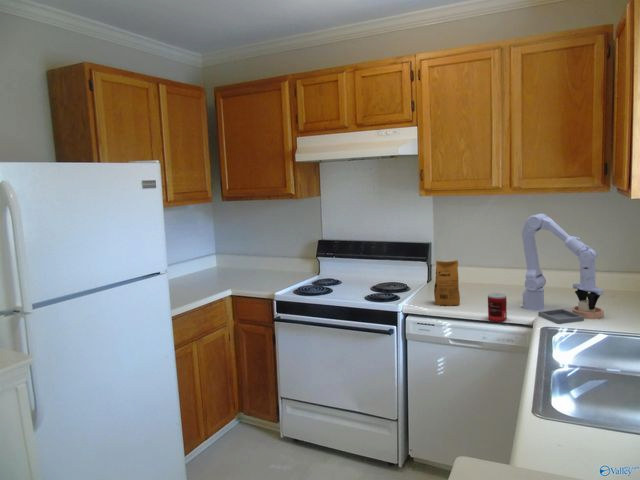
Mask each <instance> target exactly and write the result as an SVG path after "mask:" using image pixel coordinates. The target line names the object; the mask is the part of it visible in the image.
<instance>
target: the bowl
mask: <svg viewBox="0 0 640 480" xmlns="http://www.w3.org/2000/svg"><path fill="white" fill-rule="evenodd" d="M571 312H573V313H576V314H578V315H581V316H584V320H585V319H586V320H588V319H589V320H597V319H602V318H604V316H605V314H604V313H605V312H604V309H603V308H601V307H597V306H595V312H581V311H578V305H577V306H576V305H575V306H573V307H572V308H571Z"/></svg>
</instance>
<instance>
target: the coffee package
mask: <svg viewBox="0 0 640 480" xmlns="http://www.w3.org/2000/svg"><path fill="white" fill-rule="evenodd" d="M458 267H459V260H450V261H442V260H436V261H435V283H434V289H433V293H434V296H433V297H434V304H435V305H436V306H437V305H440V306H446V305H448V306H447V307H452V306H451V305H454V306H460V303H461V295H460V290H459V268H458ZM449 305H450V306H449Z"/></svg>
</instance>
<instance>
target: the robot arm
mask: <svg viewBox="0 0 640 480" xmlns="http://www.w3.org/2000/svg"><path fill="white" fill-rule="evenodd" d="M540 230H543V231H549V232H551V233H552V234H553V235H555V236H556V237H558V239H559V240H562V241H563V244H564V247H566V248H567V249H568V250H569V251H570V252H571V253H573V255H575V256H576V257H577V258H578V259H577V260H578V261H579V262H580V263H579V264H580V266H579V273H580V274H579V283H572V289H574V290H575V289H576V290H575V291H574V293H575V295H576V296H577V298H578V301H582V300H588V301H589V309H590V310H592V309H595V307H596V304H597V302H598V299H599V298H600V297H601V296H602V295H604V289H600V288H599V287H596V259H597V258H598V254H597V251H596V250H595V248H593V247H590V246H589V245H586V244H585V243H584V242H582V241H581V238H580V237H578V236H577V237H576V236H574V235H573V236H571V235H569V234H568V233H567V232H566V231H565V230H564V229H563V228H562V227H561V226H559V225H558V223H556V222H555V221H554V220H553V219H552V218H551V217H549V216H548V215H547V214H546V213H537V214H532V215H530V216H529V217H527V219H526V220H525V221H524V225H523V229H522V231H521V239H522V243H523V245H522V246H523V251H524V256H525V263H526V273H525V281H524V287H525V289H524V290H523V291H522V305H521V306H520V307H521V308H523V309H527V310H530V311H531V312H532V311H533V312H536V311H547V310H548V308H547V307H545V288H544V287H545V285H546V284H547V281H546V279H547V278H545V276H544V275H543V271H542V270H541V267H540V260H539V257H538V256H539V255H538V250H537V243H536V234H537V233H538V232H539V231H540Z"/></svg>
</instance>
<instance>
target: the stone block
mask: <svg viewBox="0 0 640 480" xmlns="http://www.w3.org/2000/svg"><path fill="white" fill-rule="evenodd" d="M577 304H578V305H577V306H578V311H581V312H595V309H592V310H590V309H589V301H588V299H587V300H582V301H579V300H578V301H577Z"/></svg>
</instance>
